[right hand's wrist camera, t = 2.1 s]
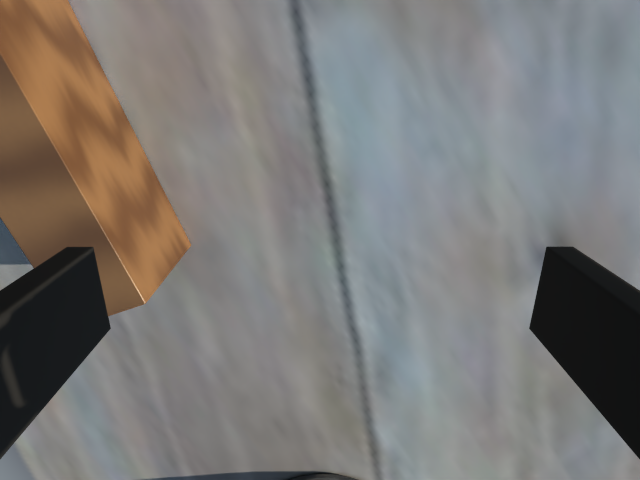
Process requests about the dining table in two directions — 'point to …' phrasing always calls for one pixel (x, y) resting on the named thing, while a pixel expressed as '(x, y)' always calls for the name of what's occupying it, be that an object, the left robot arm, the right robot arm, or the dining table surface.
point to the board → (77, 158)
